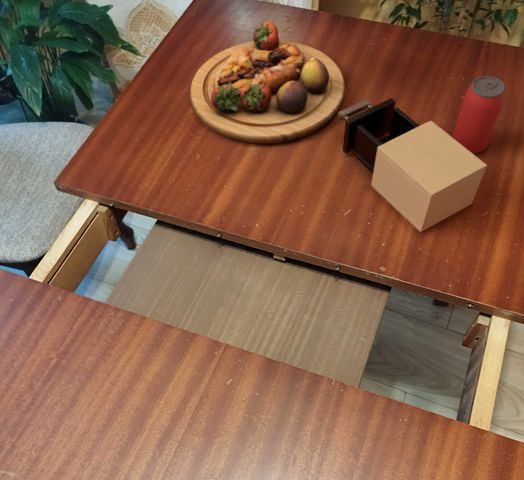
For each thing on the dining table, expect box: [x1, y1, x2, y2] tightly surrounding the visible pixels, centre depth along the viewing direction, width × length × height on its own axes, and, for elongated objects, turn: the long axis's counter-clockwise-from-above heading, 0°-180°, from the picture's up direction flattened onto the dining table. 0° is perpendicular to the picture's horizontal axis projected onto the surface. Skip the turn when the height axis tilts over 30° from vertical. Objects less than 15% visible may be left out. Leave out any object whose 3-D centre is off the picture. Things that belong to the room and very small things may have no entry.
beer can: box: [451, 75, 506, 155], centre depth 97 cm, size 7×7×12 cm
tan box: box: [370, 120, 487, 233], centre depth 93 cm, size 14×12×9 cm
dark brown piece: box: [337, 97, 421, 174], centre depth 99 cm, size 17×10×7 cm, turn 32°
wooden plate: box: [189, 20, 346, 144], centre depth 109 cm, size 32×32×8 cm
